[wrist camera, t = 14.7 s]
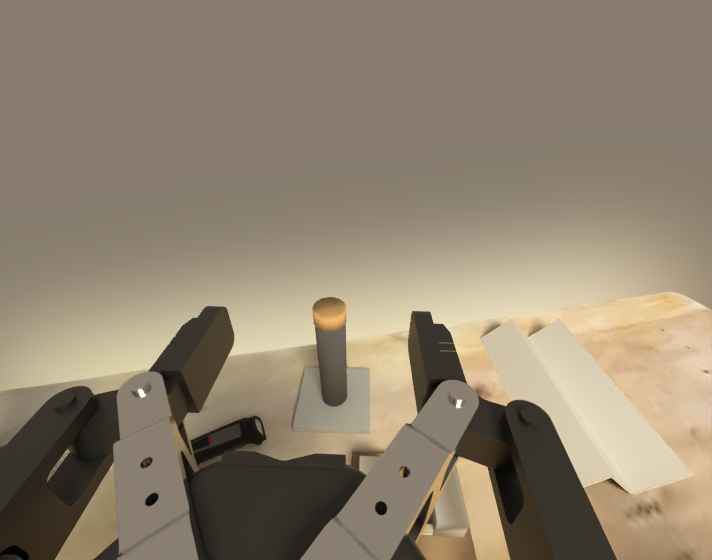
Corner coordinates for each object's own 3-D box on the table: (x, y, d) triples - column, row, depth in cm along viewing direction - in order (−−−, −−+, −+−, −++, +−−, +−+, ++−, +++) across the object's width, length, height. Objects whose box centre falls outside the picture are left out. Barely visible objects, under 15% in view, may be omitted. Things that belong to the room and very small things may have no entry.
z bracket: (580, 512, 37) (556, 495, 35) (498, 355, 58) (479, 338, 56) (693, 475, 33) (675, 453, 30) (560, 320, 54) (543, 299, 51)
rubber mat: (293, 431, 41) (292, 426, 41) (305, 371, 50) (305, 366, 49) (369, 433, 41) (369, 429, 40) (369, 373, 49) (369, 368, 49)
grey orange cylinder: (319, 406, 43) (310, 317, 34) (323, 383, 46) (315, 296, 37) (347, 407, 43) (344, 318, 34) (348, 384, 46) (346, 297, 37)
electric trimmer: (130, 471, 37) (118, 458, 36) (261, 419, 43) (257, 405, 41) (126, 504, 34) (113, 491, 33) (267, 444, 40) (263, 430, 38)
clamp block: (349, 562, 30) (348, 546, 28) (353, 456, 38) (353, 437, 36) (475, 567, 30) (485, 552, 28) (451, 459, 38) (457, 441, 36)
